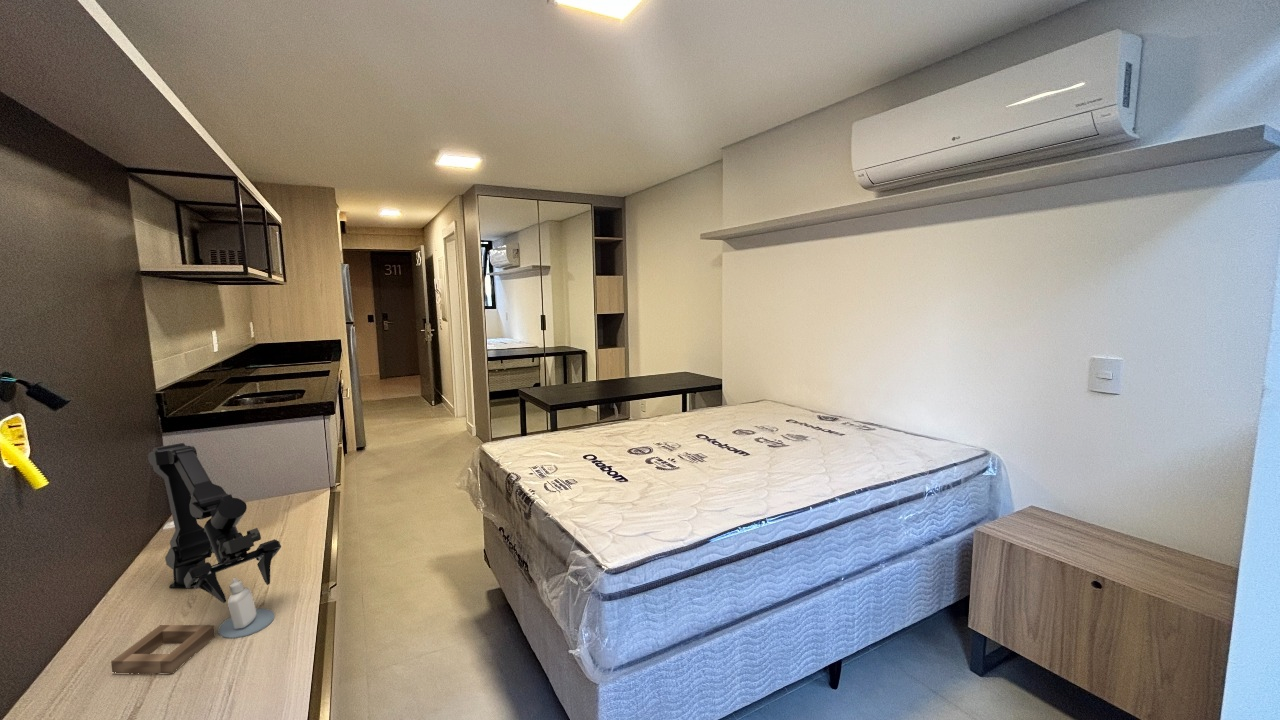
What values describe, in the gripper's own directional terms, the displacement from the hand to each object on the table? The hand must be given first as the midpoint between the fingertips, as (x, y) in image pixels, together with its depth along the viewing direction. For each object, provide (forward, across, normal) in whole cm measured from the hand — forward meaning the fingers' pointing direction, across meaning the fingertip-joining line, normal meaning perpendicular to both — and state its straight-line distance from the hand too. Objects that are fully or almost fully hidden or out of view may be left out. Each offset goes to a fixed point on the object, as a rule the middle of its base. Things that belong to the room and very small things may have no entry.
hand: (247, 592), depth 125 cm
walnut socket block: (+4, -15, +8) cm, 17 cm away
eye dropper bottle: (+5, 0, +6) cm, 8 cm away
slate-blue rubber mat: (+5, 0, +7) cm, 9 cm away
